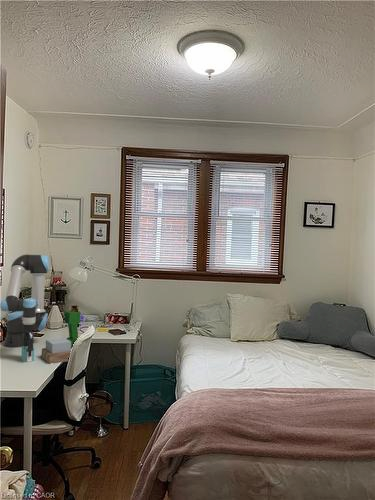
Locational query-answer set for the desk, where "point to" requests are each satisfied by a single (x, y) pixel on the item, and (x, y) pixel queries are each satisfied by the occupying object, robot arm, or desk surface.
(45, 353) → the tower base
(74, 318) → the toy
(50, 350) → the tower top
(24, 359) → the block
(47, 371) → the desk surface
